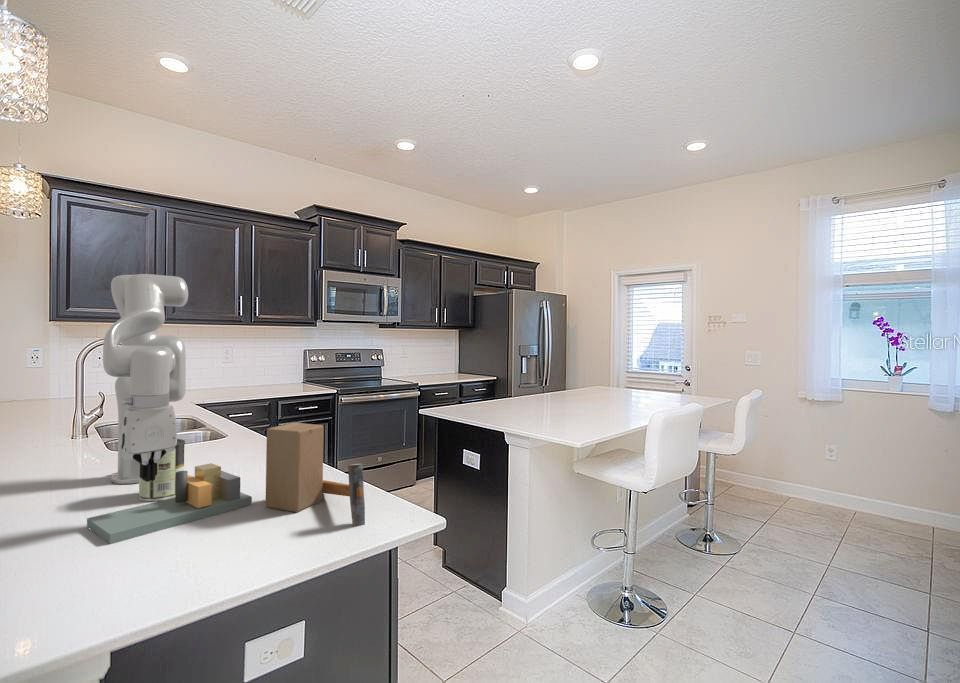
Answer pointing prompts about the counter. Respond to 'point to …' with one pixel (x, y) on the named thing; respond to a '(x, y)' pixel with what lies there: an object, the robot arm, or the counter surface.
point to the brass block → (210, 477)
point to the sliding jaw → (192, 490)
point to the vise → (166, 513)
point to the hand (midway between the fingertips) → (148, 479)
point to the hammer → (351, 492)
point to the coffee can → (163, 476)
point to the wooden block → (294, 466)
